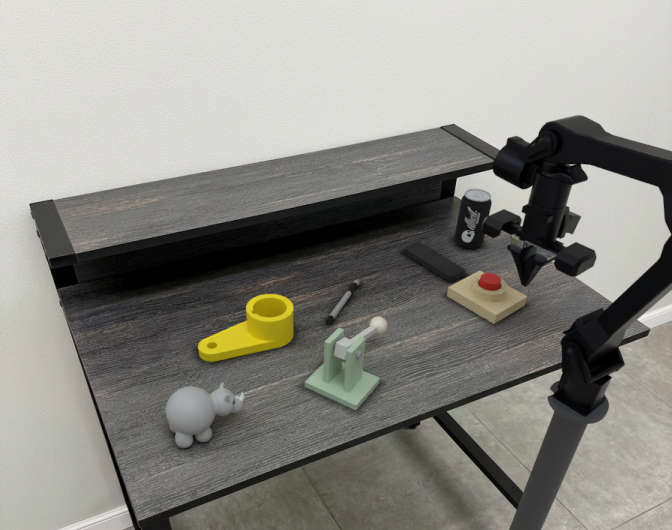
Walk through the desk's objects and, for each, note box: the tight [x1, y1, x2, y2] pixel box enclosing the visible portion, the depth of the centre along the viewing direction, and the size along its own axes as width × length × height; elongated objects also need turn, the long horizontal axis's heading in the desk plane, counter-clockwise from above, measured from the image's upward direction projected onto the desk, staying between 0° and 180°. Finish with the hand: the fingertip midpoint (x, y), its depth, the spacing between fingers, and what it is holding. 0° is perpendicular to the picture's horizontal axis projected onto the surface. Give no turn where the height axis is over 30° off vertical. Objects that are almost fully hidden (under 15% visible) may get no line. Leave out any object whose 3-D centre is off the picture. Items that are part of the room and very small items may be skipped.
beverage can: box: [453, 188, 493, 250], centre depth 139 cm, size 7×7×12 cm
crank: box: [197, 293, 295, 363], centre depth 111 cm, size 18×8×6 cm, turn 121°
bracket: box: [304, 327, 381, 411], centre depth 103 cm, size 8×10×10 cm
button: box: [479, 272, 502, 291], centre depth 123 cm, size 4×4×2 cm
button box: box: [446, 270, 528, 325], centre depth 125 cm, size 12×10×4 cm
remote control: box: [402, 241, 466, 283], centre depth 135 cm, size 5×2×15 cm
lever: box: [334, 316, 388, 361], centre depth 105 cm, size 15×3×3 cm, turn 148°
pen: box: [325, 278, 360, 325], centre depth 123 cm, size 1×16×1 cm, turn 158°
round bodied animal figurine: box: [164, 381, 245, 449], centre depth 94 cm, size 7×12×8 cm, turn 114°
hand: (524, 285), depth 108 cm, fingers closed
